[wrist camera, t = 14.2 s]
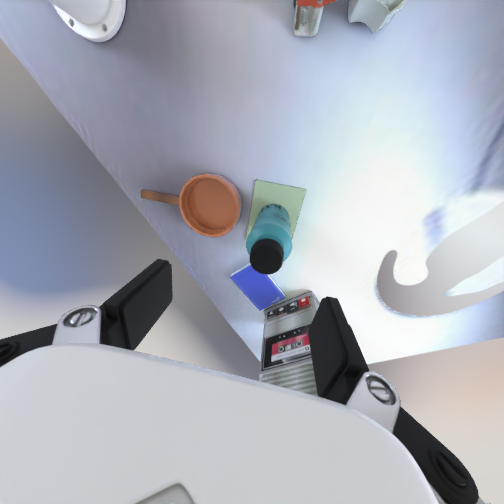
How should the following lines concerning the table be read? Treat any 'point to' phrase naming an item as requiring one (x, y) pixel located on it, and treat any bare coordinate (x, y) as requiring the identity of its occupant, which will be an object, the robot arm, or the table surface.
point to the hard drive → (257, 287)
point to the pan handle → (160, 197)
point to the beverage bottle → (269, 239)
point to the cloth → (276, 201)
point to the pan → (210, 204)
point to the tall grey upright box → (289, 345)
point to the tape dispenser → (359, 10)
